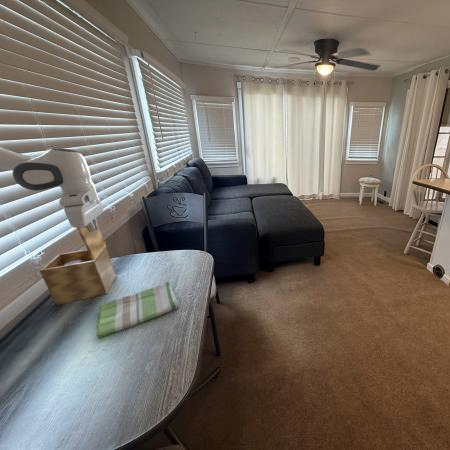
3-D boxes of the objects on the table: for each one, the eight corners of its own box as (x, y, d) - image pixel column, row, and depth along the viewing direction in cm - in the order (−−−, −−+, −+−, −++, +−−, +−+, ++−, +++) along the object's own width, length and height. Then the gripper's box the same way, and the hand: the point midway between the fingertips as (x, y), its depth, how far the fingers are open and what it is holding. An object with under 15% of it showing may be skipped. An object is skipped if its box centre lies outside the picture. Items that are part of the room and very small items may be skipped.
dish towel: (180, 309, 84) (178, 301, 83) (97, 340, 72) (93, 331, 71) (172, 286, 97) (170, 278, 96) (101, 309, 85) (98, 301, 84)
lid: (72, 218, 82) (74, 218, 82) (87, 208, 94) (89, 207, 94) (92, 260, 88) (94, 259, 88) (104, 245, 100) (106, 245, 100)
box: (56, 305, 88) (39, 270, 83) (72, 285, 100) (58, 254, 95) (106, 293, 94) (94, 261, 88) (116, 276, 106) (105, 246, 100)
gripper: (82, 190, 94) (93, 223, 99) (56, 203, 76) (72, 242, 81) (101, 188, 96) (111, 220, 101) (80, 200, 79) (94, 238, 83)
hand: (94, 230), depth 91 cm, fingers closed, pressing on lid
